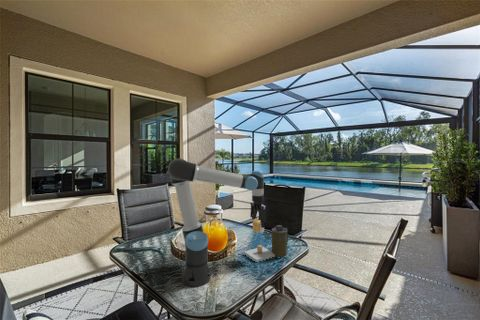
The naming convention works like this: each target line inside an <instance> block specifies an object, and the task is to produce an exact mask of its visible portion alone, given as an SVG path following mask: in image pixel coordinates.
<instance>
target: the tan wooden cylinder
mask: <svg viewBox="0 0 480 320" xmlns="http://www.w3.org/2000/svg"><path fill="white" fill-rule="evenodd" d="M260 222H261V221H260V219H257V220H255V221H253V220H252V232H253V233H257V234H261V233H260Z"/></svg>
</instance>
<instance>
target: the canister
mask: <svg viewBox="0 0 480 320" xmlns="http://www.w3.org/2000/svg"><path fill="white" fill-rule="evenodd" d="M288 232H289V229H288V228H287V227H284V226H283V225H281V224H279V225H275V226H274V227H273V228H271V251H272V253H273V254H275V257H284V256H286V255H287V254H288V251H287V250H288V241H289V239H288V238H289V237H288V236H289V235H288V234H289V233H288ZM287 256H288V255H287ZM275 257H274V258H275Z"/></svg>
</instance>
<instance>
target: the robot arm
mask: <svg viewBox="0 0 480 320" xmlns="http://www.w3.org/2000/svg"><path fill="white" fill-rule="evenodd" d="M167 173H168V175H169V177H170V181H171V183H170V184H171V185H172V186H174V187H175V192H176V196H177V197H176V198H177V201H178V206H179V209H180V210H179V211H180V214H181V215H180V216H181V218H182V222H183V227H182V229H181V230H182V236H183V240H184V247H185V248H184V249H185V262H184V264H185V265H184V267H183V272H182V274H181V282H182V284H184V285H185V286H188V287H200V286H203V285H206V284H208V283H209V282H210V281H211V279H212V276H211V275H212V273H211V270H210V266H209V262H208V261H209V256H208V255H209V253H208V252H209V251H208V250H209V236H208V234H207V233H206V232H204V227H203V224H202V223H201V222H200V221H199V218H198V213H197V210H196V209H197V208H196V203H195V200H194V194H193V191H192V187H191V182H195V181H199V182H203V183H210V184H211V183H212V184H217V185H221V186H228V187H233V188H239V189H246V190H248V191H251V201H252V202H250V213H249V214H250V218H251V220H252V222H253V221H255V220H258V219H257V214H258V216H259V220H260V221H261V222H260V233H259V234H261V233H265V223H266V222H268V221H267V206H266V205H264V203H263V202H265V196H264V193H265V192H264V191H265V189H264V182H265V181H264V179H265V178H264V177H265V176H264V171H262V170H252V171H251V173H249V174H239V173H235V172H229V171H225V170H221V169H220V170H219V169H214V168H209V167H205V166H199V165H198V164H197V163H193V162H189V161H187V160H186V159H183V158H175V159H173V160H172V161H170V163H169V164H168V167H167Z"/></svg>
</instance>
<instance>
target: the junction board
mask: <svg viewBox="0 0 480 320" xmlns="http://www.w3.org/2000/svg"><path fill="white" fill-rule="evenodd" d="M243 255H244V256H245V255H246V256H245V257H246V258H248V257H249V258H248V259H250V260H251V259H252V260H251V261H253V262H254V261H255V262H254V263H256V262H258V263H260V262H259V261H261V262H264V261H267V260H266V259H268V260H270V259H269V258H271V259H273V258H272V257H274V258H275V254H273V253H272V250H270V249H269V248H266V247H264V246H263V245H261V244H258V245H257V247H256V248H253V249H252V248H251V249H249V250H245V251H243ZM263 260H264V261H263Z"/></svg>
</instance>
